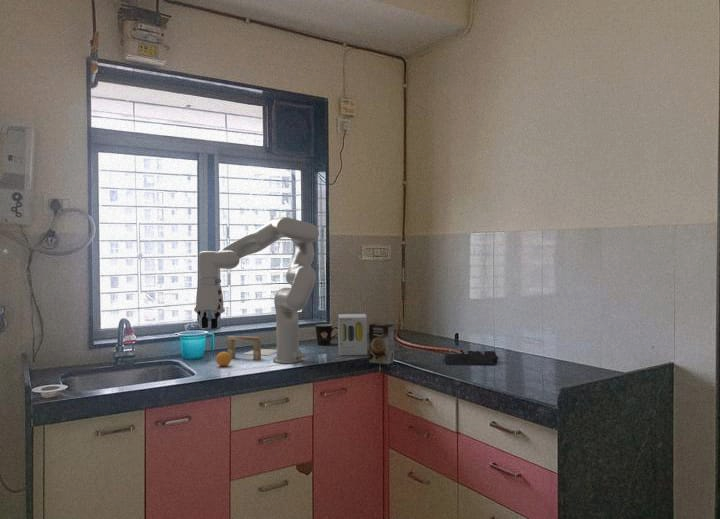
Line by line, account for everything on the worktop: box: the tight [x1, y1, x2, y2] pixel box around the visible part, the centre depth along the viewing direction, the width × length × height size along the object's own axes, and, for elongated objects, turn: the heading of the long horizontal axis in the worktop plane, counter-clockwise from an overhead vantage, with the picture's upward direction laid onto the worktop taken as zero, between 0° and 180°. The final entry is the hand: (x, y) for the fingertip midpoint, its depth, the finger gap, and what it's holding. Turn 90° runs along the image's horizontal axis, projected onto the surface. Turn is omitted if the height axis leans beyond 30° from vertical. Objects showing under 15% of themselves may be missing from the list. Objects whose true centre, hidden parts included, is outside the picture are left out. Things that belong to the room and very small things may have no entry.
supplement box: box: [337, 313, 368, 356], centre depth 242 cm, size 13×13×18 cm
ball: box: [215, 351, 232, 367], centre depth 216 cm, size 6×6×6 cm
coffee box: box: [368, 322, 395, 365], centre depth 220 cm, size 9×6×16 cm
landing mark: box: [242, 348, 277, 356], centre depth 246 cm, size 13×13×1 cm
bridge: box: [226, 335, 262, 361], centre depth 231 cm, size 3×15×10 cm, turn 71°
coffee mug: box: [314, 323, 338, 347], centre depth 265 cm, size 12×9×10 cm
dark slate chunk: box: [443, 350, 499, 367], centre depth 219 cm, size 15×22×5 cm
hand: (209, 327), depth 207 cm, fingers open, 3 cm apart
